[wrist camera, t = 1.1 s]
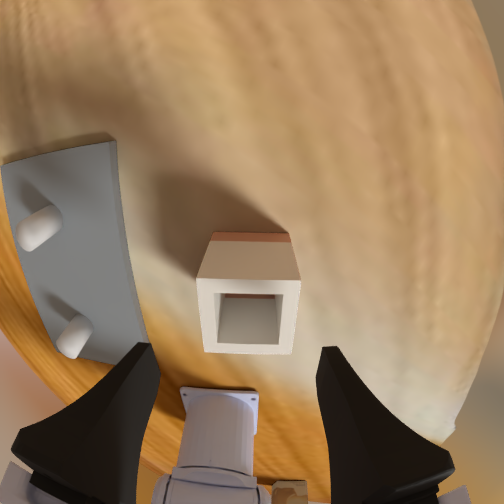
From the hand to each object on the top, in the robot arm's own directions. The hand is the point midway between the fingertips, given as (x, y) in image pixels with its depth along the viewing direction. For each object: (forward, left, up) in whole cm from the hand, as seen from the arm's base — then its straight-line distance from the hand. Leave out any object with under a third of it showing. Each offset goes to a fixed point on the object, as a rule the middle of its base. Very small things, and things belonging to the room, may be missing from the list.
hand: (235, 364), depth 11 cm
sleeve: (0, 0, -9) cm, 9 cm away
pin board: (-1, +15, -9) cm, 17 cm away
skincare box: (-49, -8, -10) cm, 51 cm away
